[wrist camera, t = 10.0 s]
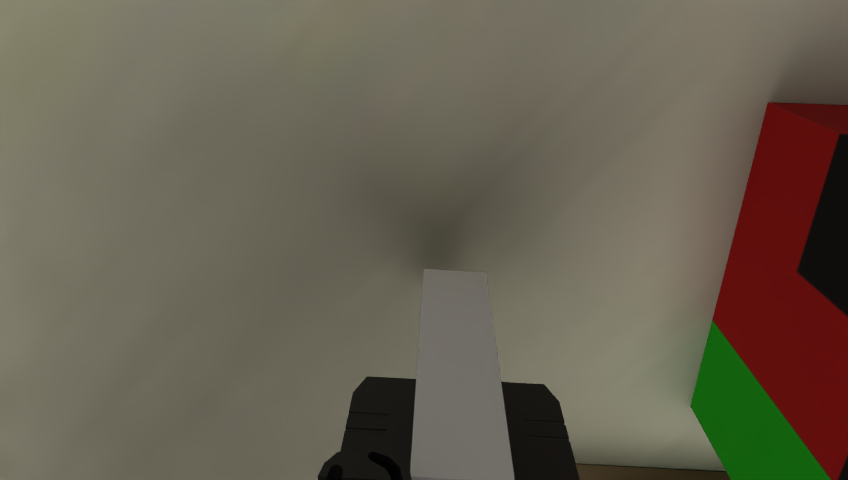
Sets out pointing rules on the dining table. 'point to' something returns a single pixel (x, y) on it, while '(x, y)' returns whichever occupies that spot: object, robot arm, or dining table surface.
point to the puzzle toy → (784, 308)
